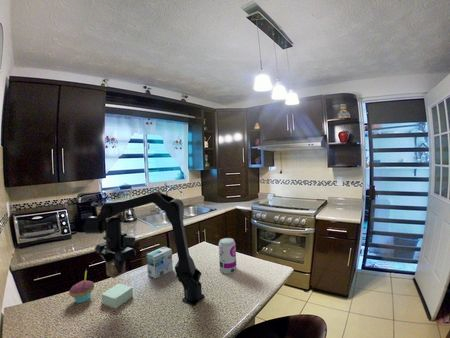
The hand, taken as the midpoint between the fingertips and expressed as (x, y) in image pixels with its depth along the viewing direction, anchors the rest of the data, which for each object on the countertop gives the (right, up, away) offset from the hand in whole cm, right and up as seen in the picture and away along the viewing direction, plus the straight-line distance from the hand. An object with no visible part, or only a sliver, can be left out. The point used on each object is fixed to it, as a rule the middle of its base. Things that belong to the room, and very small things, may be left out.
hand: (116, 271), depth 86 cm
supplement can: (+45, -9, +19) cm, 50 cm away
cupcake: (-14, -13, +1) cm, 19 cm away
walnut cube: (0, -1, 0) cm, 1 cm away
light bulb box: (+12, -11, +20) cm, 26 cm away
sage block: (+1, -12, 0) cm, 12 cm away
